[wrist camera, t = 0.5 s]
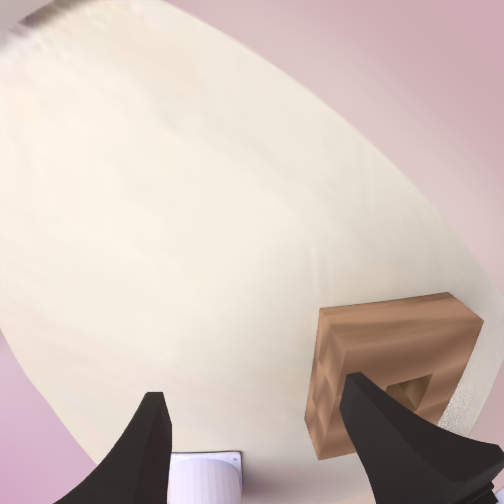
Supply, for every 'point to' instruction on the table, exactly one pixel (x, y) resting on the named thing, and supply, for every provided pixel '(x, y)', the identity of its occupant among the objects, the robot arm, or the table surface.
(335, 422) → the socket block
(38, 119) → the table surface
